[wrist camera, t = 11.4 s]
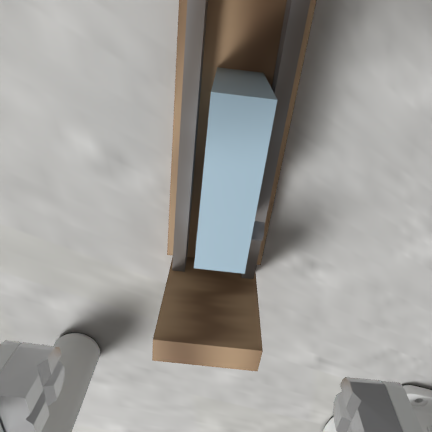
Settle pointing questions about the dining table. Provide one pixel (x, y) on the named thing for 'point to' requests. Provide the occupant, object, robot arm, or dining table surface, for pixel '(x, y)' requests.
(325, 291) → the dining table surface
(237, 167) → the door panel
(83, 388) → the beverage can
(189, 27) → the wooden rack
